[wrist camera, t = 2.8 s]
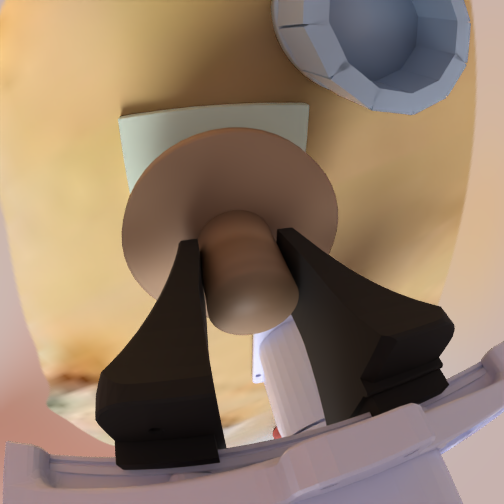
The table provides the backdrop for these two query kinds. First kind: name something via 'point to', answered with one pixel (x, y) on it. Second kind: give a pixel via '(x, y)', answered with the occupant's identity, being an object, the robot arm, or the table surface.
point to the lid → (229, 221)
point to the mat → (203, 128)
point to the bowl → (377, 48)
